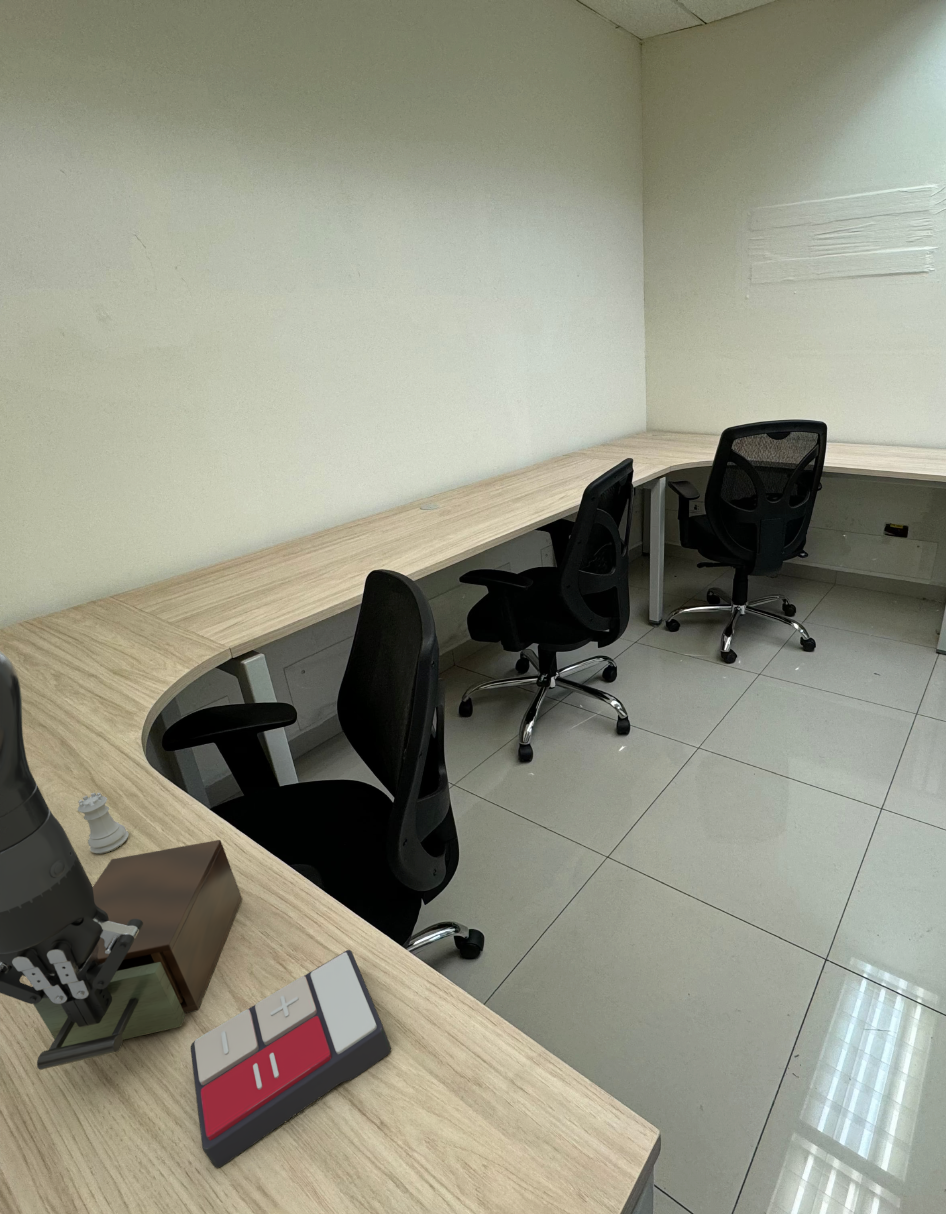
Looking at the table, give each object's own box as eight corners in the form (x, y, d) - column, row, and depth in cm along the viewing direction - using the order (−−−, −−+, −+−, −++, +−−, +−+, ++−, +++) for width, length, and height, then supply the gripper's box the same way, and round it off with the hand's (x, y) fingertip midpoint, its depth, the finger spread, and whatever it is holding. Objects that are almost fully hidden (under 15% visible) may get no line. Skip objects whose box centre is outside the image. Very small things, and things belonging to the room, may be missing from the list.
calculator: (186, 1037, 58) (348, 942, 66) (202, 1065, 60) (358, 969, 68) (198, 1147, 50) (382, 1023, 58) (217, 1176, 52) (393, 1051, 59)
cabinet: (198, 1010, 64) (168, 944, 61) (72, 1038, 62) (33, 972, 58) (242, 898, 78) (220, 839, 74) (139, 919, 75) (111, 858, 72)
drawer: (159, 1078, 57) (130, 1022, 54) (31, 1109, 56) (-7, 1053, 53) (226, 916, 74) (207, 866, 71) (129, 935, 72) (105, 885, 69)
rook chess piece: (135, 840, 88) (115, 794, 85) (98, 860, 85) (76, 814, 82) (122, 828, 91) (102, 783, 88) (85, 847, 87) (64, 802, 84)
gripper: (129, 828, 55) (189, 963, 62) (-44, 858, 53) (38, 996, 60) (83, 894, 49) (156, 1038, 55) (-118, 932, 46) (-15, 1078, 53)
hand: (95, 1016), depth 57 cm, fingers closed
